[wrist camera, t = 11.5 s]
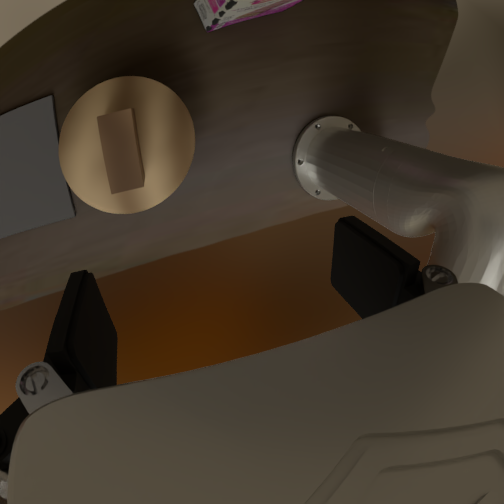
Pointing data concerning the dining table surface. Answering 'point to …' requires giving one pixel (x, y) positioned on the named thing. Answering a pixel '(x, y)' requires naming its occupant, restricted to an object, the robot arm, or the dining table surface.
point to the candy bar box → (237, 10)
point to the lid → (126, 144)
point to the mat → (31, 169)
